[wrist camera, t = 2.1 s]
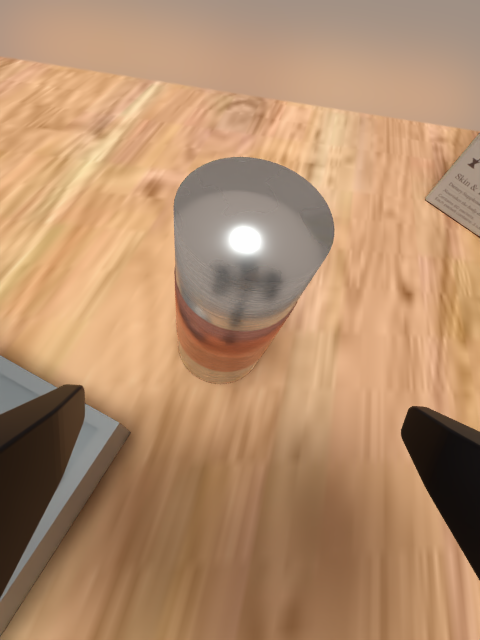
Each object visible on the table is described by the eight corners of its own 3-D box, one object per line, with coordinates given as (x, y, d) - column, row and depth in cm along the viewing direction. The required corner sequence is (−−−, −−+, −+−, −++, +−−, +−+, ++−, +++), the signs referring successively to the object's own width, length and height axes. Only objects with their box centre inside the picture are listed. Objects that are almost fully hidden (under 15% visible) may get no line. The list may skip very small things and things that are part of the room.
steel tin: (273, 329, 25) (354, 199, 13) (238, 400, 22) (301, 315, 10) (203, 293, 25) (222, 135, 13) (160, 358, 22) (136, 230, 11)
